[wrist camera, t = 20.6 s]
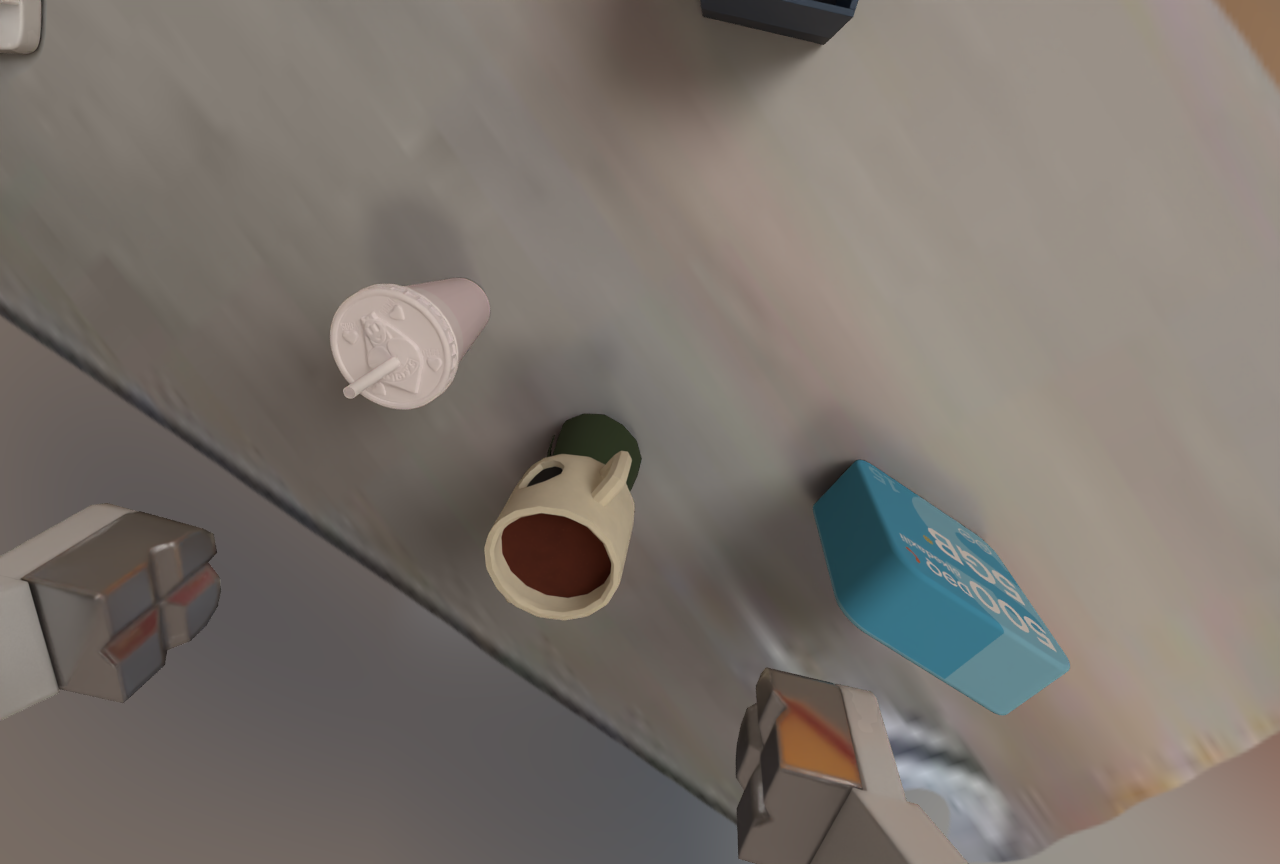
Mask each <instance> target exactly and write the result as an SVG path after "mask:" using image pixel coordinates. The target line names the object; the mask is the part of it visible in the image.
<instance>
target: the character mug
mask: <svg viewBox="0 0 1280 864" xmlns="http://www.w3.org/2000/svg"><path fill="white" fill-rule="evenodd" d="M554 437H555V435H554V436H553V438H552V441H551V444H550V447H549V450H548V455H547V457H546V458H544V459H542V460H540V461H538V462H537V463H535V464H534V465H532V466H531V467H530V468H529V469H528V470H527V471H526V472H525V474H524V475H523V477H522V478H521V480H520V481H519V483H518V484H517V485H516V487H515V488H514V490H513V492H512V494H511V496H510V497H509V499H508V501H507V503H506V505H505V507H504V508H503V510H502V512H501V513H500V515H499V517H498V518H497V520H496V522H495V523H494V525H493V527H492V528H491V530H490V532H489V534H488V537H487V541H486V544H485V548H484V550H485V560H486V569H487V571H488V572H489V574H490V576H491V578H492V580H493V582H494V584H495V586H496V588H497V589H498V590H499V591H500V592H501V593H502V594H503V595H504V596H505V598H506V600H507V602H508V603H512V604H513V605H514V606H516V607H518V608H520V609H522V610H525V611H527V612H529V613H531V614H533V615H535V616H537V617H542V618H550V619H557V620H569V619H575V618H580V617H586V616H589V615H591V614H592V613H594V612H596V611H597V610H599V609H600V608H602V607H604V606H605V605H607V604H608V602H609V601H610V599H611V597H612V596H613V594H614V593H615V591H616V589H617V588H618V586H619V583H620V581H621V577H622V572H623V568H624V564H625V559H626V555H627V551H628V546H629V542H630V537H631V533H632V529H633V521H634V508H635V506H634V500H633V498H632V496H631V494H630V491H631V489H632V487H633V484H634V482H635V480H636V478H637V475H638V471H639V467H640V463H641V459H642V458H641V455H640V451H639V448H638V444H637V441H636V440H635V439H634V437H633V436H632V435H631V434H630V433H629V432H628V431H627V429H626V428H625V427H624V426H623V425H622V424H620V423H618V422H616V421H615V420H613V419H611V418H609V417H608V416H606V415H600V414H582V415H579V416H577V417H574V418H572V419H569V420H567V421H566V422H565V423H564V424H563V426H562V429H561V431H560V434H559V437H558V440H557V443H556V447H555V450H554V453H553V456H551V448H552V443H553V440H554Z"/></svg>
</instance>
